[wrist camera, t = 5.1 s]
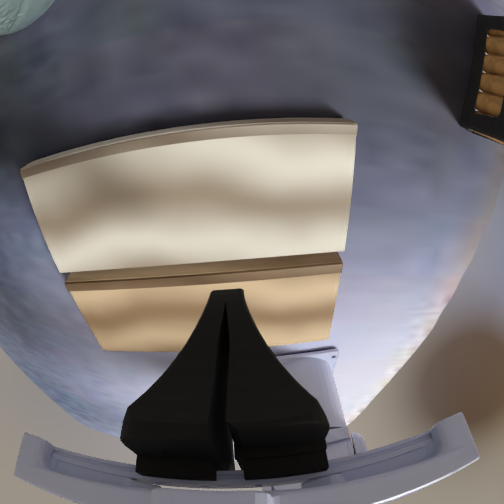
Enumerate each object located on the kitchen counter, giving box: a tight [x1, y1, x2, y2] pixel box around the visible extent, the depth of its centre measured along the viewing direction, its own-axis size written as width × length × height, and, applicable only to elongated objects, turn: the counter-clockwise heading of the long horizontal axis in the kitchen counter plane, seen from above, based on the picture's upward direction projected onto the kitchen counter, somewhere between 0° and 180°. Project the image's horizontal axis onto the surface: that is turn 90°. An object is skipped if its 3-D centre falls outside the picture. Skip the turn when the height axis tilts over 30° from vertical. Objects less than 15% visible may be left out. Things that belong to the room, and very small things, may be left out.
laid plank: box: [65, 252, 343, 352], centre depth 24 cm, size 9×22×2 cm, turn 93°
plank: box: [20, 118, 358, 273], centre depth 18 cm, size 9×22×2 cm, turn 93°
